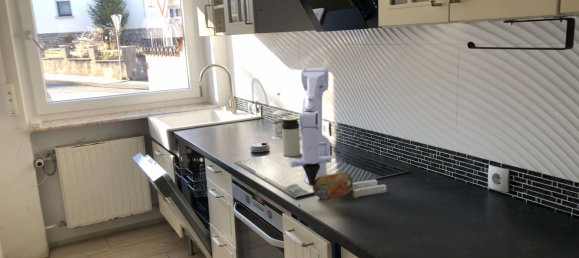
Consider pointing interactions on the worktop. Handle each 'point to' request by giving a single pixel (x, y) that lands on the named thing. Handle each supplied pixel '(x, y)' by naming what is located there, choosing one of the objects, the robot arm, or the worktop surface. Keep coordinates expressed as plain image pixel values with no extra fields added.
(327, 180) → the tin
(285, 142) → the travel mug
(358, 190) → the door track
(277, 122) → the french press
